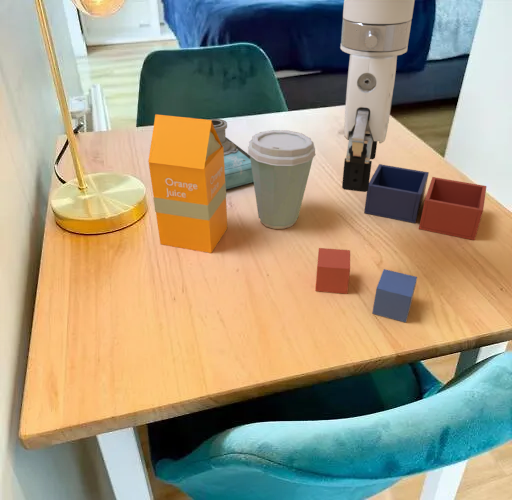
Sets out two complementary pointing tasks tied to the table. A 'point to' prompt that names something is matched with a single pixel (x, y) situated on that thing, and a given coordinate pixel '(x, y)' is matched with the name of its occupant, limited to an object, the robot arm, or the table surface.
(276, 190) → the disposable coffee cup
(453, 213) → the red bin
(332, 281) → the red block
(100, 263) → the table surface
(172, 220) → the orange juice
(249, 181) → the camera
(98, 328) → the table surface
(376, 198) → the blue bin
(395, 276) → the blue block
